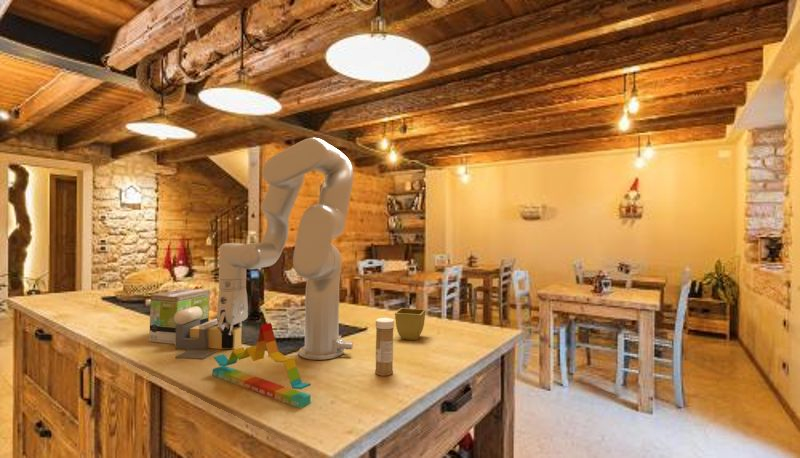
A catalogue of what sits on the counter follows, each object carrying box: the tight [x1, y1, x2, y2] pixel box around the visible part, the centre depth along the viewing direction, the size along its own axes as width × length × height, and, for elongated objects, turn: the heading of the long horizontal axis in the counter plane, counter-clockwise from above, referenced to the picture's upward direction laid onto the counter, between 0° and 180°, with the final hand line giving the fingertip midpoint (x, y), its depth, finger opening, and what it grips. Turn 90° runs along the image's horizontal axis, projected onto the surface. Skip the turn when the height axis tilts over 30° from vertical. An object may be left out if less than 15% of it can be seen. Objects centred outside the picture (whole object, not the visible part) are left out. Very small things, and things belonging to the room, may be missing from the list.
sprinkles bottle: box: [374, 317, 395, 377], centre depth 99 cm, size 5×5×14 cm
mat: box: [175, 350, 216, 360], centre depth 111 cm, size 8×6×1 cm
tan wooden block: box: [190, 325, 243, 350], centre depth 119 cm, size 14×4×6 cm, turn 84°
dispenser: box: [174, 306, 218, 351], centre depth 120 cm, size 9×10×11 cm
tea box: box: [148, 288, 210, 345], centre depth 129 cm, size 15×10×15 cm
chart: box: [211, 322, 312, 409], centre depth 89 cm, size 30×3×15 cm, turn 56°
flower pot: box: [394, 307, 426, 341], centre depth 132 cm, size 9×9×9 cm
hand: (231, 345), depth 119 cm, fingers closed on tan wooden block, 4 cm apart
